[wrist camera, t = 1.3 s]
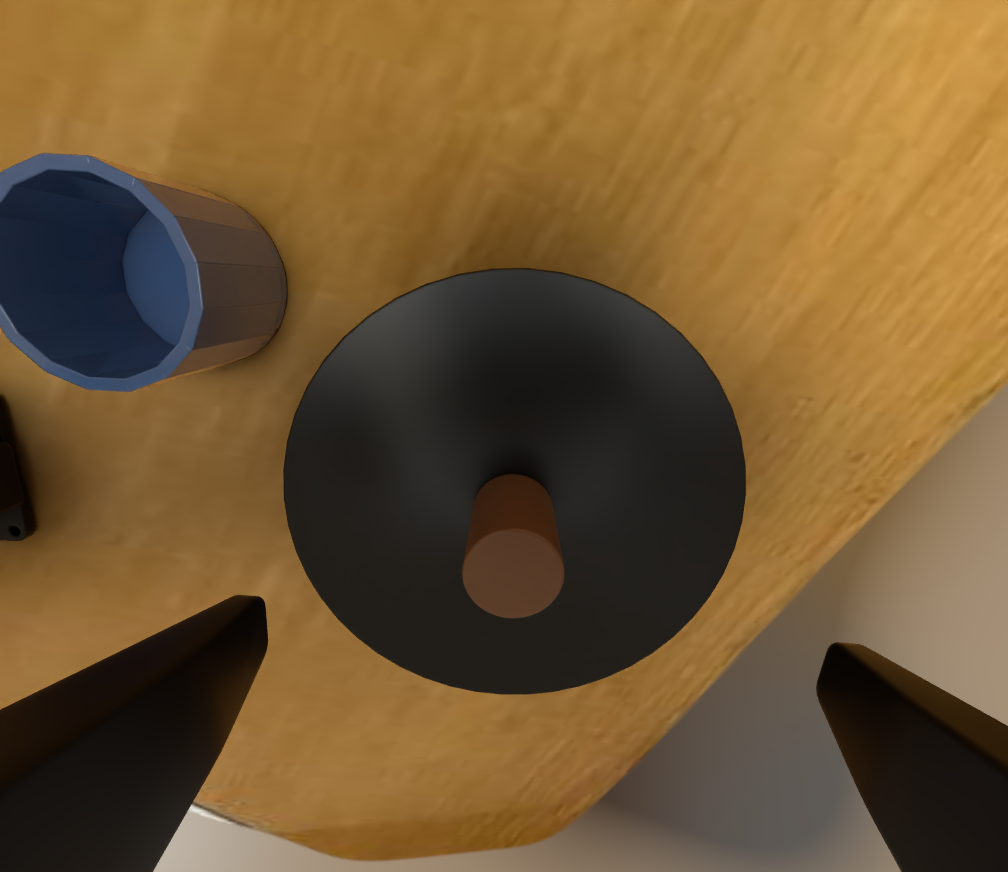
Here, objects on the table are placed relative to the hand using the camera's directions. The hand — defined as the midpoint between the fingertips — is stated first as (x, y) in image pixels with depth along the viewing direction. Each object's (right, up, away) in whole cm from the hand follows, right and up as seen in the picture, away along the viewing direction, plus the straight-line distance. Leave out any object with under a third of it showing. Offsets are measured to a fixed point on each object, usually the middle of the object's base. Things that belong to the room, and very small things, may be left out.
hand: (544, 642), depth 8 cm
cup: (-12, +9, +11) cm, 19 cm away
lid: (0, +1, +7) cm, 8 cm away
